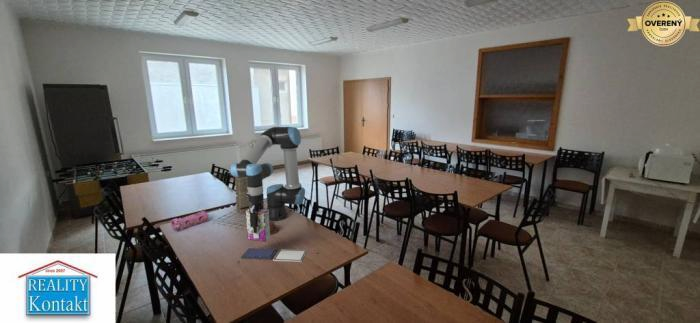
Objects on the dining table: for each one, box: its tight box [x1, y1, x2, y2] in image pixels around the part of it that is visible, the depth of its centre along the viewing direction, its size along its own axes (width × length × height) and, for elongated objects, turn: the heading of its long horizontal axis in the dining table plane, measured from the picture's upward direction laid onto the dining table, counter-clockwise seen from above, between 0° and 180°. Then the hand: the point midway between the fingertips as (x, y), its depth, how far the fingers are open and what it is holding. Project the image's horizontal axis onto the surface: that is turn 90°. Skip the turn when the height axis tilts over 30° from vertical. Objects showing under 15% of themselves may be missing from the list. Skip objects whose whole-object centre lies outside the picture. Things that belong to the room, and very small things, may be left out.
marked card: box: [272, 248, 307, 263], centre depth 155 cm, size 12×15×1 cm
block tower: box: [234, 177, 251, 215], centre depth 217 cm, size 8×8×29 cm
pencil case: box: [170, 210, 209, 233], centre depth 194 cm, size 21×9×9 cm, turn 144°
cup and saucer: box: [269, 220, 279, 236], centre depth 184 cm, size 12×12×6 cm
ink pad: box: [240, 247, 278, 260], centre depth 156 cm, size 10×16×1 cm, turn 85°
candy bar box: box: [245, 207, 271, 243], centre depth 154 cm, size 11×5×16 cm, turn 76°
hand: (258, 235), depth 155 cm, fingers closed on candy bar box, 5 cm apart
